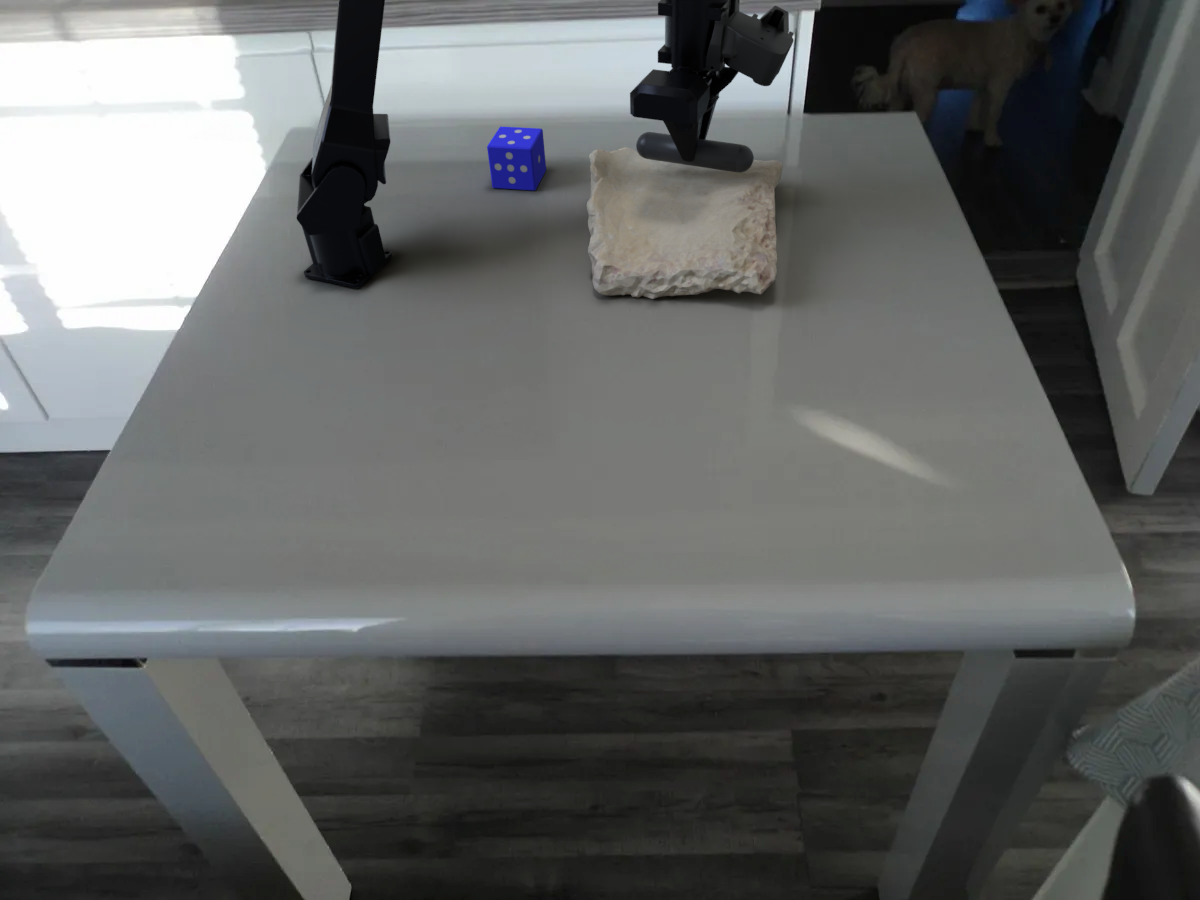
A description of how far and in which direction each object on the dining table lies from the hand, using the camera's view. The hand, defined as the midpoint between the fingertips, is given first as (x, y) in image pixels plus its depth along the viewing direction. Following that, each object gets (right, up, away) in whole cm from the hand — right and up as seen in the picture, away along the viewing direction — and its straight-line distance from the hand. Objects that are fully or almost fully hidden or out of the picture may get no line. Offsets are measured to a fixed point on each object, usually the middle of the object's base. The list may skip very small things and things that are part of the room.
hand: (692, 154), depth 90 cm
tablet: (-1, -8, +2) cm, 8 cm away
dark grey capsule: (0, -1, +1) cm, 1 cm away
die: (-18, +1, +13) cm, 22 cm away
